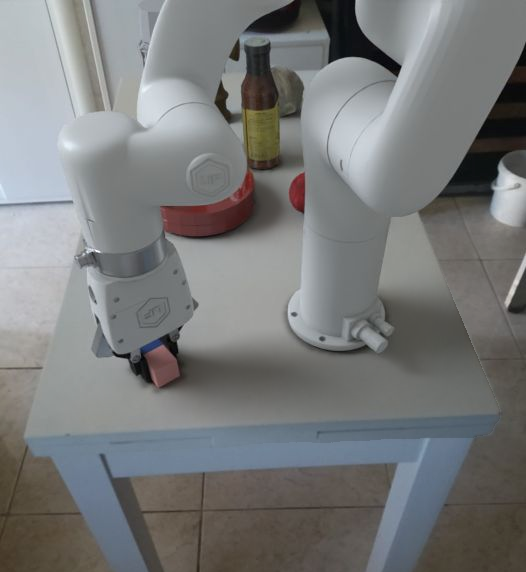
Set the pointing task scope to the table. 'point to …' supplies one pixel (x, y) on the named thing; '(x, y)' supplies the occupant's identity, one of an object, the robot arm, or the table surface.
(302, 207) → the onion
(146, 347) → the eraser
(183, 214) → the bowl
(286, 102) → the garlic bulb
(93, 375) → the table surface
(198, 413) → the table surface
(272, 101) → the sauce bottle
